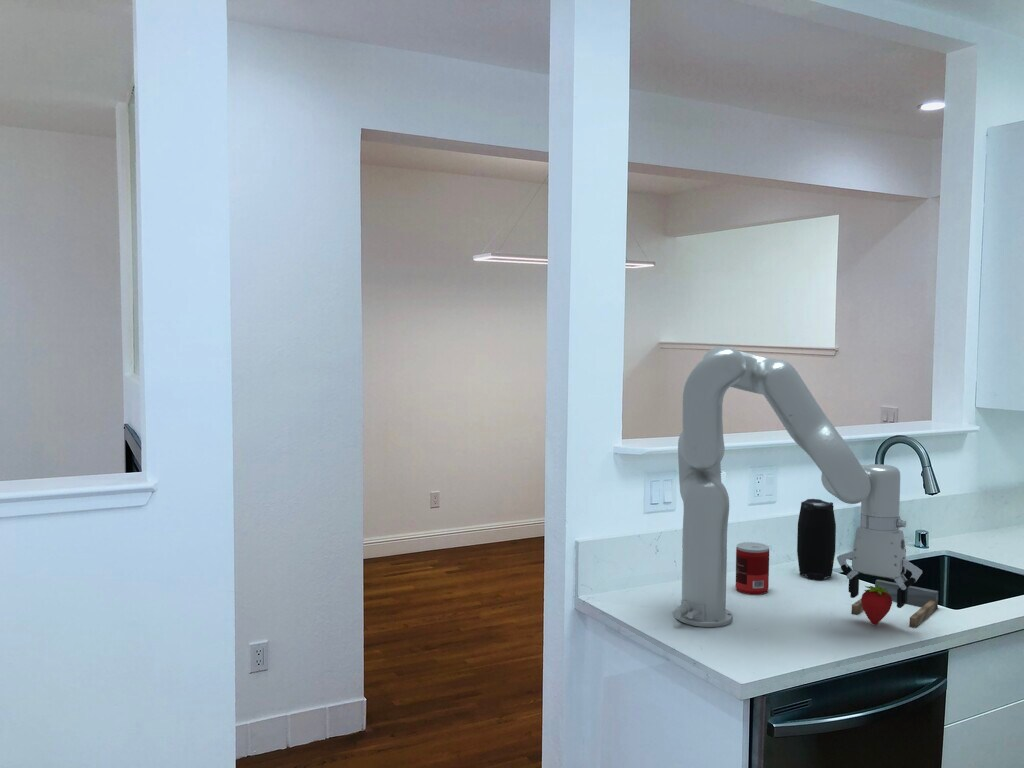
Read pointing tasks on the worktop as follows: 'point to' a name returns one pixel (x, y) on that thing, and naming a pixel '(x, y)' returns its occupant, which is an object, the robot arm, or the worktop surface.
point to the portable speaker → (816, 539)
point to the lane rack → (908, 601)
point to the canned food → (752, 568)
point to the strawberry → (876, 603)
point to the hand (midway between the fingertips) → (877, 601)
